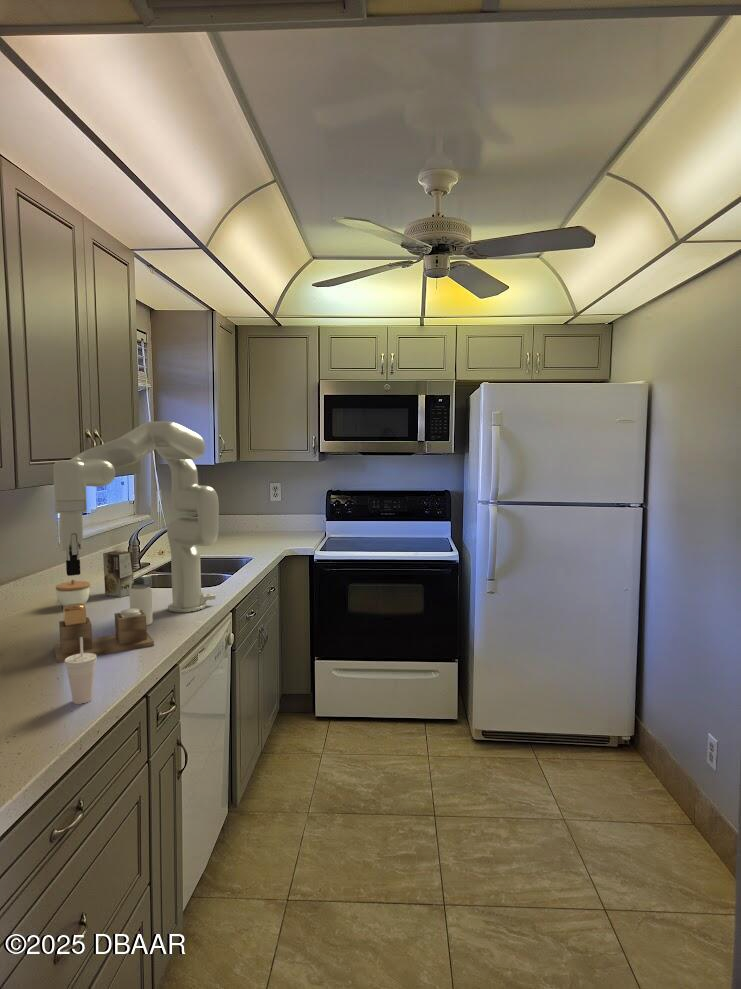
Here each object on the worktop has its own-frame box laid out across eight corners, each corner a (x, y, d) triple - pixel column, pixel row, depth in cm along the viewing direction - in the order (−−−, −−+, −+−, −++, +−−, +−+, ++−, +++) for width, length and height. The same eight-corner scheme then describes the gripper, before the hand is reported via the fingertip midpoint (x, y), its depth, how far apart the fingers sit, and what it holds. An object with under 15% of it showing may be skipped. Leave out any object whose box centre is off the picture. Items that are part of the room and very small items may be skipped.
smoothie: (104, 694, 131) (101, 633, 130) (88, 707, 125) (85, 643, 124) (76, 694, 132) (73, 633, 131) (59, 706, 126) (56, 643, 124)
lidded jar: (95, 606, 205) (93, 580, 204) (61, 612, 198) (60, 585, 197) (85, 600, 213) (84, 575, 212) (53, 606, 206) (51, 579, 205)
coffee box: (135, 593, 223) (133, 551, 221) (120, 597, 217) (119, 554, 216) (118, 591, 227) (116, 549, 225) (104, 594, 221) (102, 552, 220)
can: (145, 619, 189) (144, 583, 188) (156, 623, 185) (155, 586, 184) (126, 624, 184) (125, 586, 183) (137, 628, 180) (135, 590, 179)
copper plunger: (84, 629, 162) (83, 602, 162) (86, 634, 158) (85, 606, 157) (64, 632, 160) (63, 605, 159) (66, 637, 155) (64, 609, 155)
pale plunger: (138, 633, 170) (137, 607, 169) (142, 637, 166) (141, 611, 165) (120, 636, 167) (119, 610, 167) (123, 641, 163) (122, 614, 162)
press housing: (145, 633, 174) (144, 606, 174) (154, 645, 164) (153, 616, 163) (54, 648, 162) (52, 619, 161) (57, 662, 151) (55, 631, 151)
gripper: (52, 505, 160) (55, 571, 162) (57, 509, 148) (60, 581, 149) (83, 504, 164) (85, 568, 166) (90, 508, 152) (92, 578, 153)
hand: (73, 574), depth 157 cm, fingers closed
